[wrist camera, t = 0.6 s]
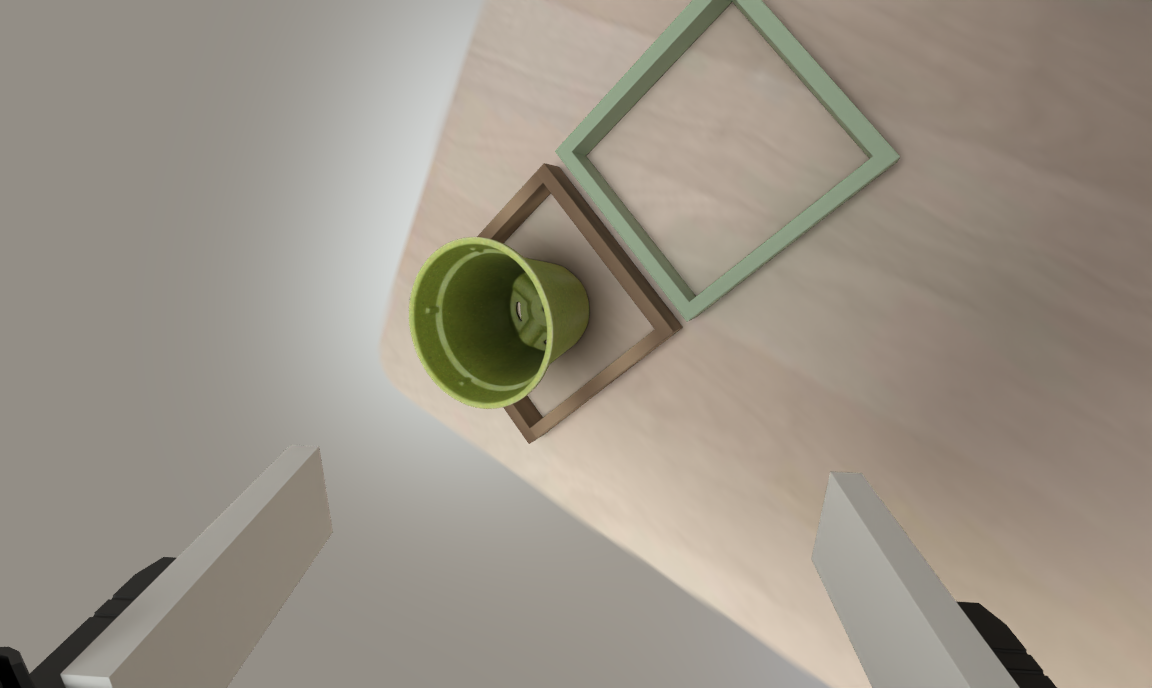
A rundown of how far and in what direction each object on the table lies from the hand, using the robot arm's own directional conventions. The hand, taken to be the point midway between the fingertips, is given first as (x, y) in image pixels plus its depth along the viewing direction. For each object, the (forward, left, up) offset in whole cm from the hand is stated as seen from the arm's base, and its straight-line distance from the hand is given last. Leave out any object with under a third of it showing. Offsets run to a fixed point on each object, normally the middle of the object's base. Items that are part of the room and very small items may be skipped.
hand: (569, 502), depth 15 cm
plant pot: (+8, -9, -22) cm, 25 cm away
